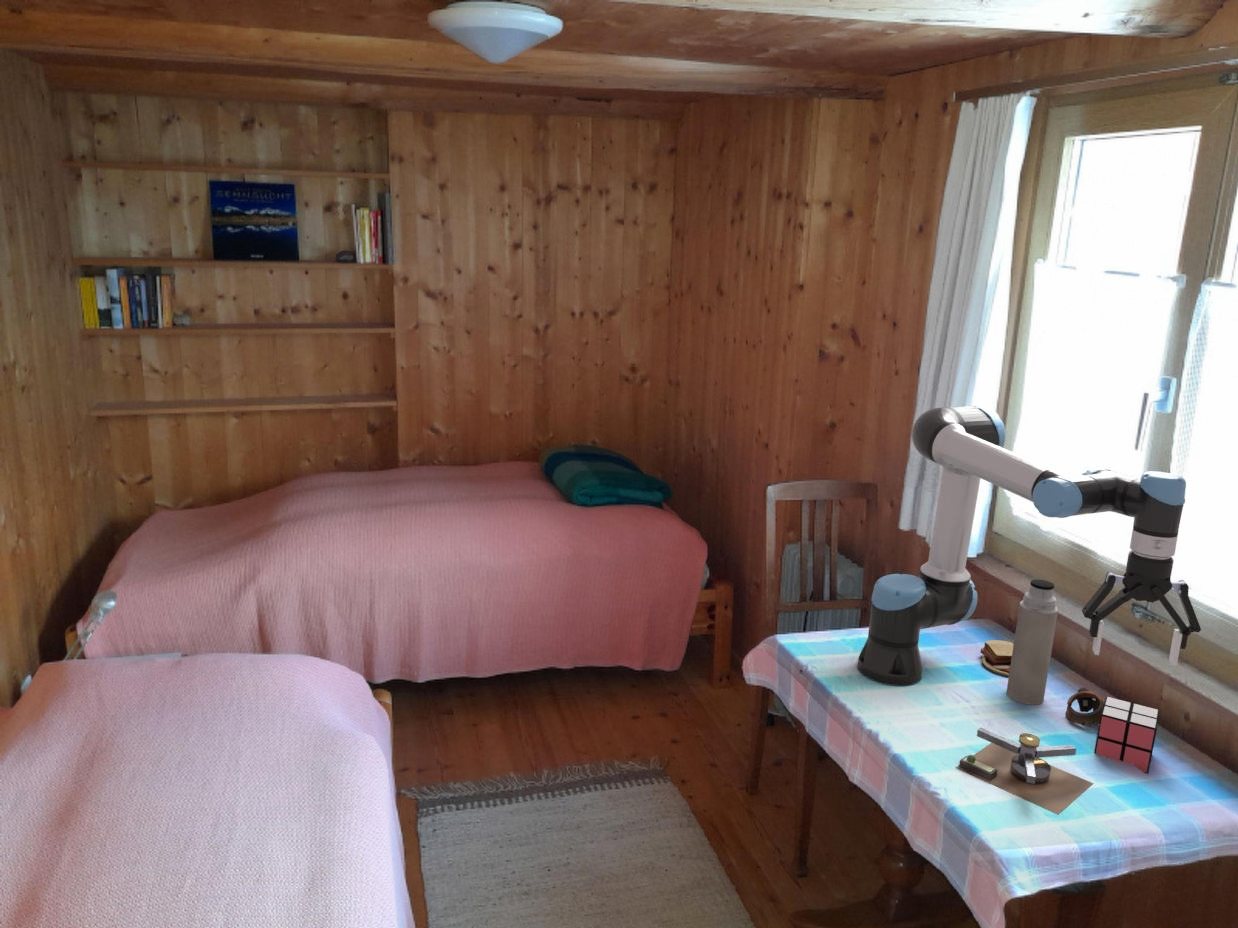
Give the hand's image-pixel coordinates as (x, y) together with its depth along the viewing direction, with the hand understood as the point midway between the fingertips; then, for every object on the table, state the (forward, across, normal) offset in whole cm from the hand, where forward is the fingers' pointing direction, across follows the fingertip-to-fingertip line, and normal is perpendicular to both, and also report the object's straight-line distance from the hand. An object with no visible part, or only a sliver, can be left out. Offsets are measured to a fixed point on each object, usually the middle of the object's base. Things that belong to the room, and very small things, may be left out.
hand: (1133, 657), depth 185 cm
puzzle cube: (+24, +3, +6) cm, 25 cm away
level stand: (+24, -18, -12) cm, 32 cm away
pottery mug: (+24, -2, +19) cm, 31 cm away
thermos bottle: (+24, -14, +28) cm, 39 cm away
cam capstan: (+22, -16, -11) cm, 30 cm away
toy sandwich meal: (+24, -16, +43) cm, 52 cm away
